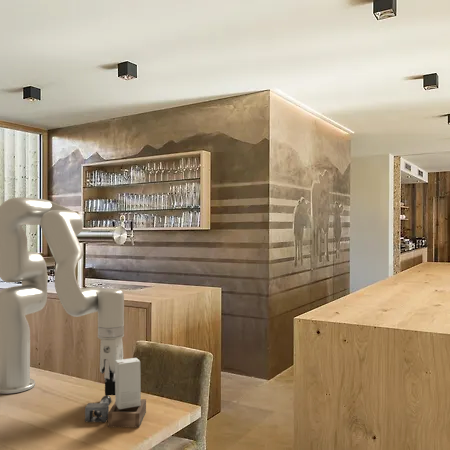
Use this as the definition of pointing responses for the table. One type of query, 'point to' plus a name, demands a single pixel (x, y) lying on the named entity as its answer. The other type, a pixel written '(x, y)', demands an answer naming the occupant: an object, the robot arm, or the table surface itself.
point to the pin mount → (96, 407)
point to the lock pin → (104, 400)
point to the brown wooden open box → (127, 416)
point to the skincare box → (127, 383)
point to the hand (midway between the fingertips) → (111, 394)
